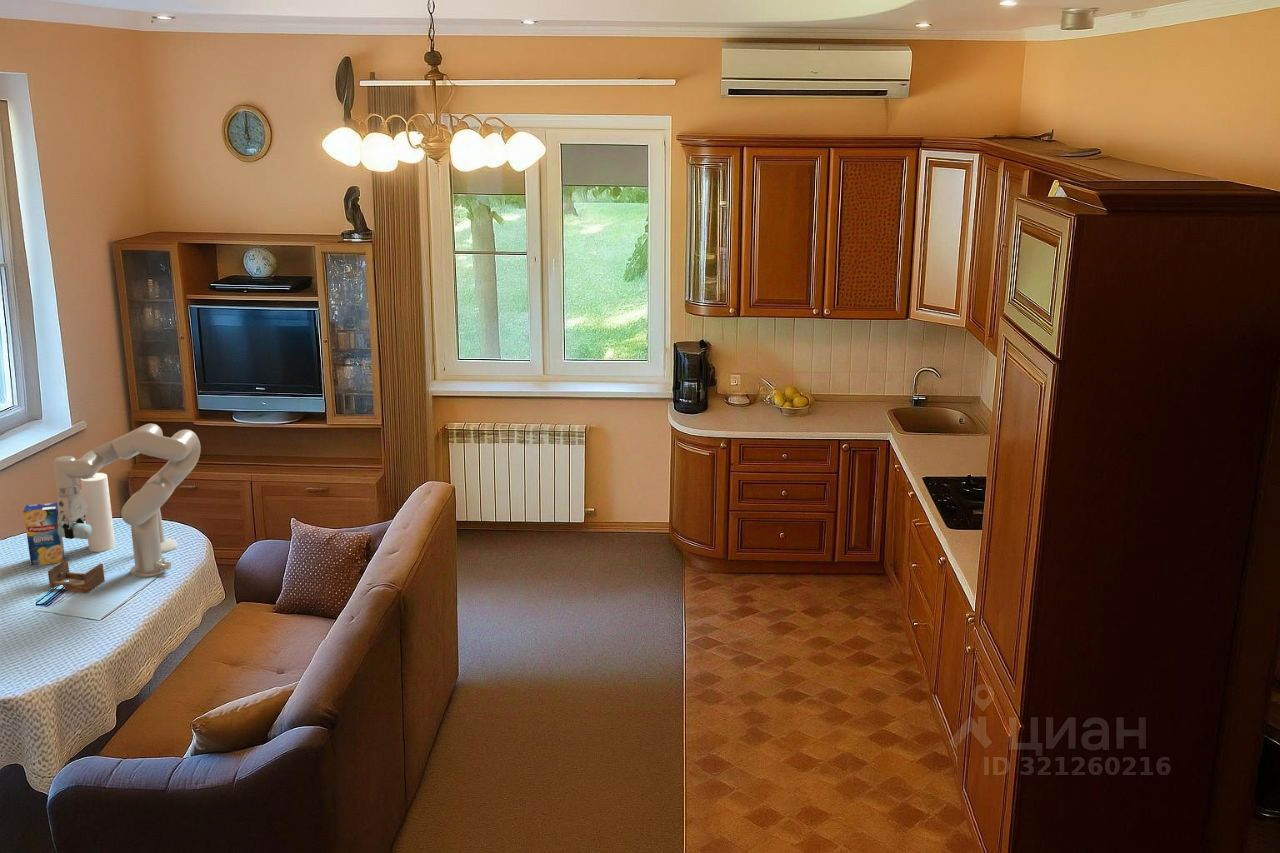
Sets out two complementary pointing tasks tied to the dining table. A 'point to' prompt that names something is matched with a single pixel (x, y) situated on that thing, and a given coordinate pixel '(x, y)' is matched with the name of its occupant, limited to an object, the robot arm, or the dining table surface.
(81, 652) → the dining table surface
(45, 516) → the beverage box
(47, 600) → the dining table surface
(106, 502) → the cylinder container
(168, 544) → the candlestick
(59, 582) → the holder
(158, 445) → the robot arm
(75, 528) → the roll
